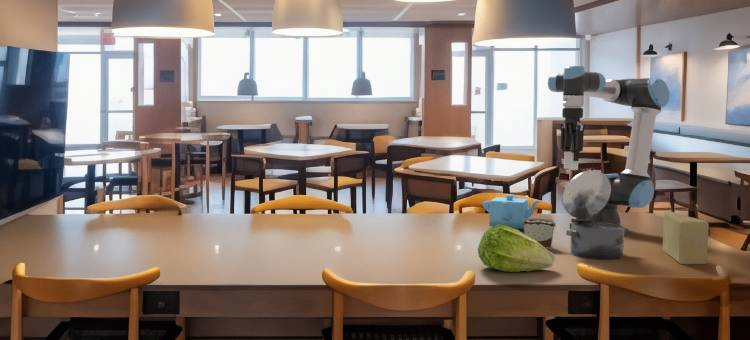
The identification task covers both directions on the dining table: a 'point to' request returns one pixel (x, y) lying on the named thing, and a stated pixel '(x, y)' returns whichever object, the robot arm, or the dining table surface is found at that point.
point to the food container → (539, 230)
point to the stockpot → (597, 240)
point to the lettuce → (512, 251)
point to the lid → (586, 195)
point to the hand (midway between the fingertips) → (570, 169)
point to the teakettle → (509, 211)
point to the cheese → (685, 238)
